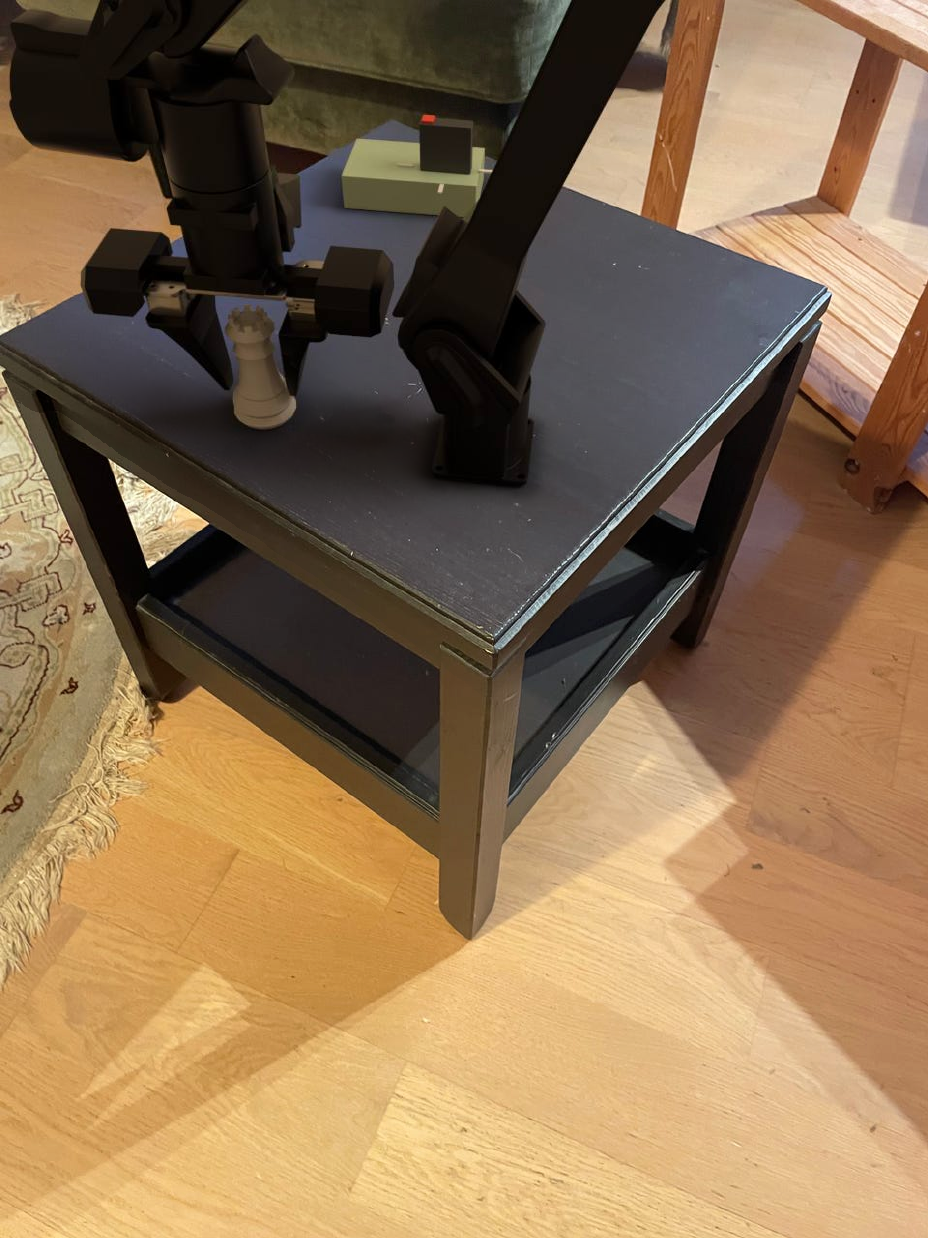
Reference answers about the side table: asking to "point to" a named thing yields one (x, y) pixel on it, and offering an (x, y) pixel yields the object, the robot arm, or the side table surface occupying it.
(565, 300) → the side table surface
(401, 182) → the olive green box
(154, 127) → the robot arm
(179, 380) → the side table surface
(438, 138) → the dark square block
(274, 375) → the rook chess piece
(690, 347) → the side table surface
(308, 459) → the side table surface
